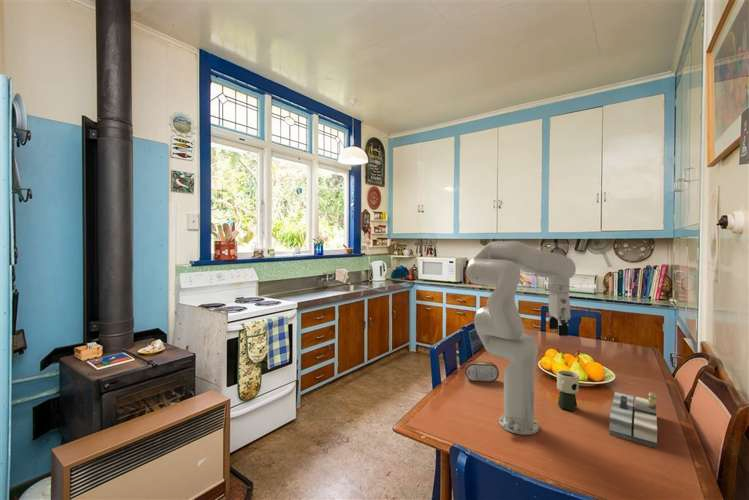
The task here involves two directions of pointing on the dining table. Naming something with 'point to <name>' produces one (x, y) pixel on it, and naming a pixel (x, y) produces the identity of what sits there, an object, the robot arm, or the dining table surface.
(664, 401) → the dining table surface
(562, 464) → the dining table surface
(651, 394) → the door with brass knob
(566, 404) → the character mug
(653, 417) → the lock board
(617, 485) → the dining table surface
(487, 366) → the tin
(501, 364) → the dining table surface
